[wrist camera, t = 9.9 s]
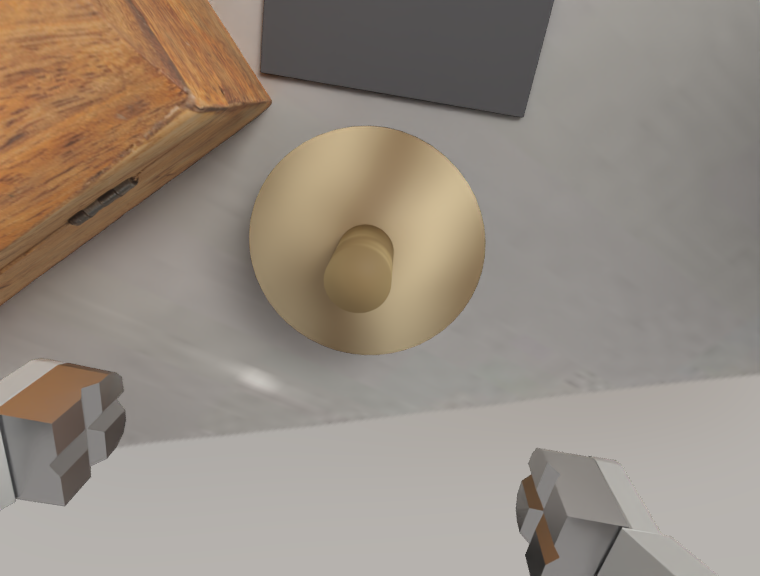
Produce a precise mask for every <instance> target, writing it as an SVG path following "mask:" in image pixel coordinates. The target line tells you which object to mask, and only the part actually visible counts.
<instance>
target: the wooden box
mask: <svg viewBox="0 0 760 576" xmlns="http://www.w3.org/2000/svg"><path fill="white" fill-rule="evenodd" d="M271 103H272V100H271V99H270V97H269V95H268V94H267V92H266V91H265V89H264V88H263V86H262V85H261V83H260V82H259V80H258V79H257V77H256V75H255V74H254V72H253V71H252V69H251V68H250V66H249V65H248V63H247V61H246V60H245V58H244V57H243V55H242V54H241V52H240V50H239V49H238V47H237V46H236V44H235V42H234V41H233V39H232V38H231V36H230V35H229V33H228V31H227V30H226V28H225V27H224V25H223V24H222V22H221V20H220V19H219V17H218V16H217V14H216V13H215V11H214V10H213V8H212V7H211V5H210V4H209V2H208V0H0V306H1V305H2V304H3V303H5V302H6V301H7V300H9V299H10V298H11V297H13V296H14V295H15V294H17V293H18V292H19V291H20V290H22V289H23V288H24V287H26V286H27V285H29V284H30V283H31V282H32V281H34V280H35V279H36V278H38V277H39V276H41V275H42V274H44V273H45V272H46V271H48V270H49V269H50V268H52V267H53V266H54V265H55V264H57V263H58V262H60V261H61V260H63V259H64V258H65V257H67V256H68V255H70V254H71V253H72V252H74V251H75V250H77V249H78V248H79V247H80V246H82V245H83V244H85V243H86V242H87V241H88V240H90V239H91V238H93V237H94V236H96V235H97V234H99V233H100V232H101V231H103V230H104V229H105V228H107V227H108V226H109V225H110V224H112V223H113V222H115V221H116V220H118V219H119V218H120V217H121V216H123V215H124V214H125V213H126V212H128V211H129V210H130V209H132V208H134V207H135V206H136V205H138V204H139V203H141V202H142V201H143V200H145V199H146V198H147V197H149V196H150V195H152V194H153V193H154V192H156V191H157V190H158V189H160V188H161V187H163V186H164V185H165V184H167V183H168V182H169V181H171V180H172V179H173V178H175V177H176V176H178V175H179V174H180V173H182V172H183V171H185V170H186V169H187V168H189V167H190V166H191V165H193V164H194V163H196V162H197V161H198V160H199V159H201V158H202V157H203V156H205V155H206V154H208V153H209V152H210V151H211V150H213V149H214V148H215V147H217V146H218V145H220V144H221V143H223V142H224V141H225V140H227V139H228V138H229V137H231V136H232V135H234V134H235V133H236V132H238V131H239V130H240V129H241V128H243V127H244V126H245V125H247V124H248V123H249V122H251V121H252V120H253V119H255V118H256V117H257V116H259V115H260V114H261V113H262V112H263V111H264V110H265V109H267V108H268V107H269V106H270V105H271Z"/></svg>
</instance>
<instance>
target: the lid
mask: <svg viewBox="0 0 760 576" xmlns="http://www.w3.org/2000/svg"><path fill="white" fill-rule="evenodd" d="M249 248H250V254H251V261H252V265H253V268H254V272H255V275H256V278H257V280H258V282H259V285H260V287H261V289H262V291H263V293H264V294H265V296H266V298H267V299H268V301H269V302H270V304H271V305H272V306H273V308H274V309H275V310H276V312H277V313H278V314H279V315H280V316H281V317H282V318H283V319H284V320H285V321H286V322H287V323H288V324H289V325H290V326H292V327H293V328H294V329H295V330H297V331H298V332H299V333H301V334H303V335H304V336H306V337H307V338H309V339H310V340H312V341H315V342H317V343H319V344H321V345H323V346H326V347H328V348H331V349H334V350H337V351H342V352H346V353H351V354H361V355H380V354H388V353H394V352H398V351H403V350H406V349H409V348H412V347H414V346H417V345H419V344H421V343H423V342H425V341H427V340H429V339H431V338H433V337H434V336H435V335H437V334H438V333H440V332H441V331H443V330H444V329H445V328H446V327H447V326H448V325H450V324H451V323H452V322H453V321H454V320H455V319H456V318H457V316H458V315H459V314H460V313H461V312H462V311H463V309H464V308H465V306H466V305H467V303H468V302H469V300H470V299H471V297H472V295H473V293H474V291H475V289H476V287H477V284H478V281H479V278H480V275H481V272H482V268H483V263H484V258H485V231H484V224H483V220H482V215H481V211H480V208H479V206H478V203H477V200H476V198H475V196H474V194H473V192H472V190H471V188H470V186H469V185H468V183H467V181H466V180H465V179H464V177H463V176H462V175H461V173H460V172H459V171H458V169H457V168H456V167H455V166H454V165H453V164H452V163H451V162H450V161H449V160H448V159H447V158H446V157H445V156H444V155H443V154H442V153H440V152H439V151H438V150H436V149H435V148H434V147H433V146H431V145H430V144H428V143H426V142H424V141H423V140H421V139H419V138H417V137H415V136H412V135H410V134H407V133H405V132H402V131H399V130H395V129H390V128H386V127H377V126H353V127H347V128H342V129H337V130H333V131H330V132H327V133H324V134H321V135H318V136H316V137H314V138H312V139H310V140H308V141H306V142H304V143H303V144H301V145H300V146H298V147H297V148H295V149H294V150H292V151H291V152H290V153H289V154H288V155H286V156H285V157H284V158H283V159H282V160H281V161H280V162H279V163H278V164H277V165H276V167H275V168H274V169H273V170H272V172H271V173H270V174H269V175H268V177H267V179H266V180H265V182H264V184H263V185H262V187H261V189H260V191H259V194H258V196H257V198H256V201H255V204H254V207H253V211H252V215H251V221H250V229H249Z"/></svg>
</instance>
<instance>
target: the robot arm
mask: <svg viewBox="0 0 760 576" xmlns="http://www.w3.org/2000/svg"><path fill="white" fill-rule="evenodd" d="M123 391H124V389H123V382H122V377H121V376H120V375H119V374H117V373H116V372H111V371H106V370H101V369H96V368H91V367H86V366H81V365H76V364H71V363H64V362H59V361H54V360H49V359H44V358H41V359H34V360H31V361H30V362H28V363H27V364H25V365H24V366H22V367H21V368H19V369H18V370H16V371H14V372H13V373H11V374H10V375H8V376H7V377H5V378H4V379H2V380H1V381H0V510H2V509H4V508H5V507H7V506H9V505H11V504H13V503H14V502H15V501H16V499H20V500H27V501H33V502H40V503H47V504H53V505H60V506H65V505H66V504H67V503H68V502H69V501H70V500H71V499H72V498H73V496H74V495H75V494H76V493H77V492H78V491H79V489H80V488H81V487H82V486H83V485H84V484H85V483H86V482H87V481H88V479H89V478H90V477H91V466H92V465H94V464H96V463H98V462H101V461H103V460H105V459H107V458H108V457H109V455H110V454H111V453H112V452H113V451H114V449H115V448H116V447H117V445H118V443H119V441H120V439H121V437H122V435H123V433H124V428H125V422H126V415H125V409H124V408H123V406H122V405H121V404H120V403H119V401H118V400H117V398H118V397H119V396H120V395H121V394H122V393H123ZM528 464H529V467H530V471H531V475H530V476H529V477H527V478H525V479H524V480H522V482H521V485H520V488H519V491H518V494H517V503H516V515H517V523H518V527H519V532H520V534H521V535H522V536H523V537H524V538H525V539H526V540H527V542H528V543H529V547H528V549H527V552H526V554H525V557H526V560H527V564H528V568H529V572H530V576H719V575H717V574H716V573H715V572H714V571H713V570H712V569H710V568H709V567H708V566H707V565H705V564H704V563H703V562H701V560H699V559H698V558H697V557H696V556H694V555H693V554H692V553H691V552H690V551H688V550H687V549H686V548H685V547H684V546H682V545H681V544H680V543H679V542H677V541H676V540H675V539H674V538H673V537H671V536H667V535H662V534H661V532H660V530H659V528H658V527H657V525H656V523H655V521H654V520H653V518H652V516H651V515H650V513H649V511H648V509H647V508H646V506H645V504H644V502H643V501H642V499H641V497H640V496H639V494H638V492H637V490H636V489H635V487H634V485H633V484H632V482H631V480H630V478H629V477H628V475H627V473H626V472H625V470H624V468H623V466H622V465H621V464H620V463H619V462H617V461H616V460H611V459H605V458H598V457H592V456H589V457H586V456H581V455H575V454H569V453H564V452H558V451H552V450H546V449H540V448H536V450H535V451H534V452H533V453H532V456H531V458H530V460H529V463H528Z"/></svg>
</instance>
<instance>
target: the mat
mask: <svg viewBox="0 0 760 576" xmlns="http://www.w3.org/2000/svg"><path fill="white" fill-rule="evenodd" d="M553 3H554V0H264V16H263V35H262V54H261V72H262V73H268V74H274V75H280V76H285V77H291V78H297V79H303V80H309V81H314V82H320V83H326V84H332V85H338V86H343V87H349V88H355V89H361V90H367V91H372V92H378V93H384V94H390V95H396V96H401V97H407V98H413V99H419V100H425V101H430V102H436V103H442V104H448V105H454V106H459V107H465V108H471V109H477V110H483V111H488V112H494V113H500V114H506V115H512V116H517V117H524V113H525V110H526V106H527V102H528V98H529V94H530V90H531V87H532V83H533V79H534V75H535V71H536V68H537V64H538V60H539V56H540V52H541V48H542V45H543V41H544V37H545V33H546V29H547V26H548V22H549V18H550V14H551V10H552V6H553Z"/></svg>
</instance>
